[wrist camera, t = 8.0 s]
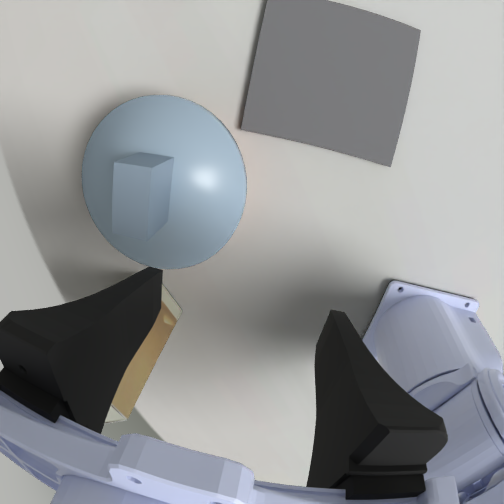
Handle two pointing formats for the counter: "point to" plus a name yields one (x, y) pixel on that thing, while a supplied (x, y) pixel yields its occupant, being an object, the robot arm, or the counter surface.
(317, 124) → the mat
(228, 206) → the lid
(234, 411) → the counter surface
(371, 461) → the robot arm
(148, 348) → the skincare box
